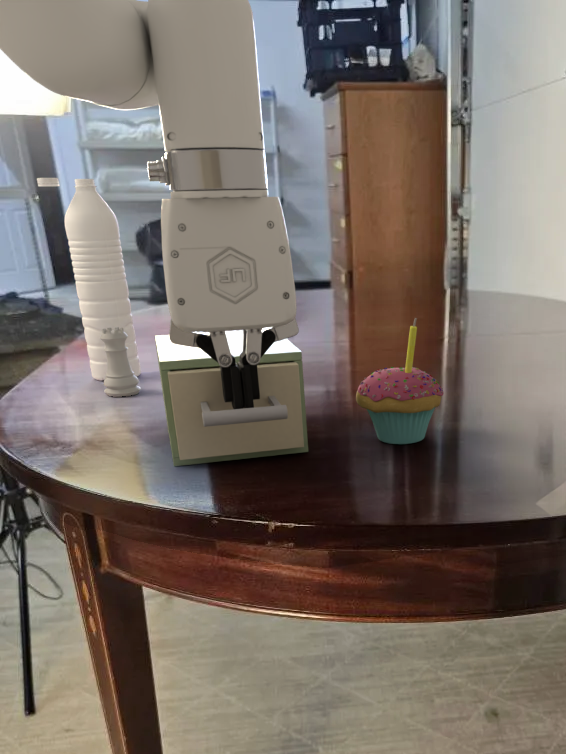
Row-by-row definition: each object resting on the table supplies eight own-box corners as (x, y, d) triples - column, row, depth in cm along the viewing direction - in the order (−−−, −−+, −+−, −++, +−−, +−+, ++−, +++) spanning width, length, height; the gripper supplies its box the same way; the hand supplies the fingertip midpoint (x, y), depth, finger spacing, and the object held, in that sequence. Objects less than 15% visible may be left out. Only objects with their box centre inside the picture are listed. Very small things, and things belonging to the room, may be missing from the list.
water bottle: (139, 369, 111) (110, 178, 101) (143, 378, 106) (112, 177, 95) (75, 375, 108) (37, 178, 98) (74, 384, 103) (35, 177, 92)
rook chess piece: (97, 396, 97) (85, 331, 93) (119, 388, 100) (108, 325, 97) (127, 398, 95) (116, 332, 92) (148, 390, 99) (139, 326, 96)
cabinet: (308, 451, 75) (301, 351, 71) (173, 466, 71) (158, 361, 67) (282, 415, 87) (275, 328, 83) (167, 425, 84) (154, 335, 80)
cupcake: (457, 434, 79) (459, 314, 74) (411, 456, 73) (410, 325, 68) (389, 422, 84) (387, 308, 79) (340, 442, 77) (334, 319, 73)
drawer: (316, 465, 68) (311, 376, 65) (183, 479, 65) (170, 388, 62) (280, 412, 85) (274, 340, 82) (172, 422, 82) (162, 347, 78)
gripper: (116, 178, 55) (155, 429, 62) (322, 175, 59) (336, 411, 66) (118, 180, 61) (153, 407, 69) (303, 177, 65) (317, 392, 73)
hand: (242, 408), depth 68 cm, fingers closed
